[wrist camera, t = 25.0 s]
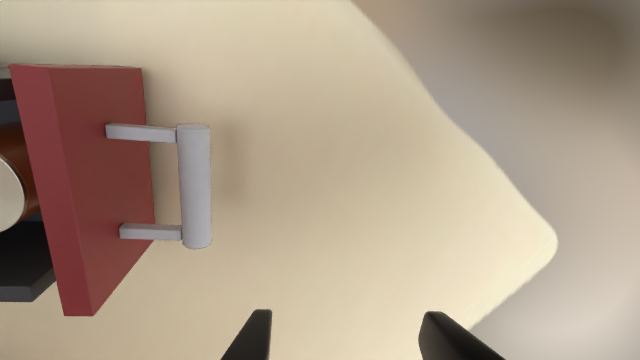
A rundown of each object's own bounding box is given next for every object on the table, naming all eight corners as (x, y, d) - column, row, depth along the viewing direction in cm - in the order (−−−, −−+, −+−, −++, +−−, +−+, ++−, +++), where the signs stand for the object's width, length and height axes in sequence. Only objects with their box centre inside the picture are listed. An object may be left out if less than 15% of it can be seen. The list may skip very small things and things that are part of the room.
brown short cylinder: (51, 105, 15) (-34, 118, 11) (105, 176, 17) (47, 210, 13) (-20, 140, 16) (-127, 165, 12) (40, 207, 17) (-37, 250, 13)
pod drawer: (225, 76, 17) (187, 80, 10) (225, 240, 20) (197, 317, 14) (-134, 40, 15) (-452, 18, 8) (-66, 228, 18) (-256, 314, 12)
